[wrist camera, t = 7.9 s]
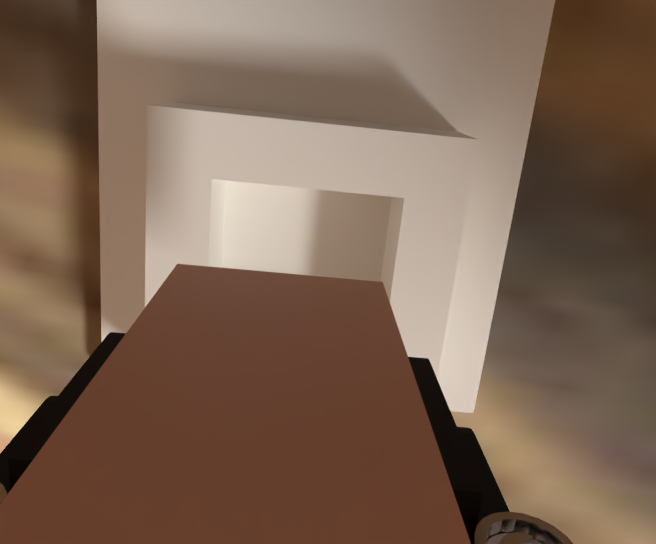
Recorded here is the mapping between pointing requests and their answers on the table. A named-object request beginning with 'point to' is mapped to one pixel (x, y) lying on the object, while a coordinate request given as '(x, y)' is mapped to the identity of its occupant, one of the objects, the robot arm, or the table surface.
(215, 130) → the socket stand
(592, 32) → the table surface
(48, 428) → the robot arm
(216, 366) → the peg
